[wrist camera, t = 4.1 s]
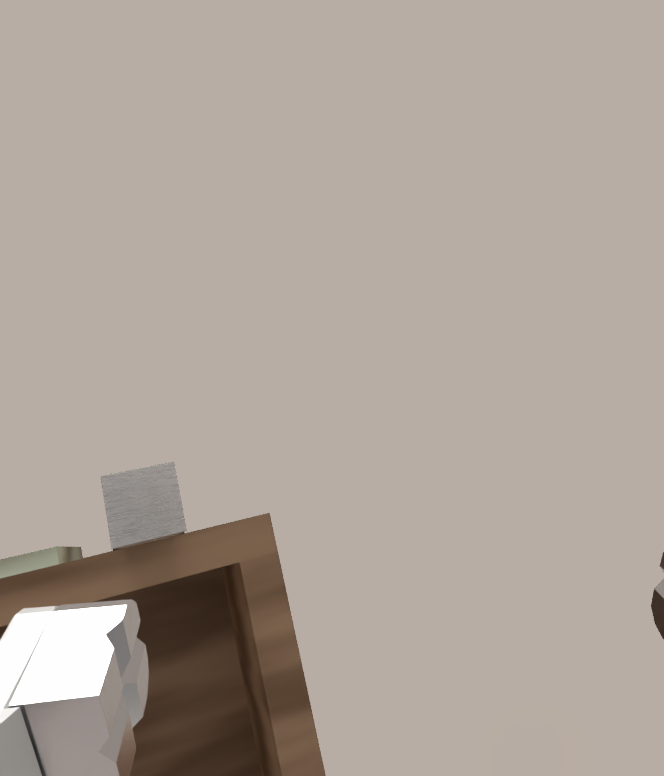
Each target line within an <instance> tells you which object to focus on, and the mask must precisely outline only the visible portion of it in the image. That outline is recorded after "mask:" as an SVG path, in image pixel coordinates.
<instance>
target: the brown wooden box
mask: <svg viewBox="0 0 664 776" xmlns="http://www.w3.org/2000/svg"><path fill="white" fill-rule="evenodd" d="M129 599H132V600H133V601H135V602H136V603H137V607H138V611H139V616H140V620H141V621H140V625H139V629H138V633H137V638H138V639H139V640H140V641H142V642H143V643H144V644H145V645H146V651H147V656H148V669H149V678H148V692H147V700H146V705H145V710H144V715H143V717H142V718H141V719H140V720H139V721H138V723H137V724H136V725H135V726H134V727H133V728H132V729H133V734H134V739H135V743H136V752H135V756H134V761H133V765H132V770H131V774H130V776H325V771H324V766H323V762H322V757H321V752H320V748H319V743H318V738H317V733H316V729H315V724H314V719H313V715H312V710H311V705H310V701H309V696H308V691H307V687H306V682H305V677H304V672H303V668H302V663H301V658H300V654H299V649H298V644H297V640H296V635H295V630H294V626H293V621H292V616H291V612H290V607H289V602H288V597H287V593H286V588H285V583H284V579H283V574H282V569H281V565H280V560H279V555H278V551H277V546H276V541H275V536H274V532H273V527H272V523H271V518H270V514H269V513H267V514H263V515H259V516H255V517H251V518H247V519H243V520H239V521H235V522H230V523H226V524H222V525H218V526H214V527H210V528H206V529H202V530H198V531H193V532H190V533H185V534H181V535H177V536H173V537H169V538H165V539H161V540H157V541H152V542H148V543H144V544H140V545H136V546H132V547H128V548H124V549H120V550H115V551H111V552H107V553H103V554H99V555H95V556H91V557H87V558H83V557H82V550H81V547H53V548H49V549H45V550H40V551H36V552H31V553H27V554H23V555H18V556H14V557H10V558H6V559H1V560H0V639H1V638H2V636H3V634H4V632H5V630H6V629H7V627H8V625H9V623H10V622H11V620H12V618H13V617H14V615H15V614H17V613H18V612H19V611H21V610H22V609H23V608H36V607H49V606H60V605H65V604H78V603H91V602H104V601H117V600H129Z"/></svg>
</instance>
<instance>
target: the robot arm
mask: <svg viewBox="0 0 664 776" xmlns="http://www.w3.org/2000/svg"><path fill="white" fill-rule="evenodd" d="M660 567H661V568H662V570H663V572H664V552H663V556H662V560H661V563H660ZM651 607H652V612H653V616H654V621H655V624H656V626H657V628H658V630H659V632H660V634H661V636H662V638H663V639H664V579H663V580H662V581H661V582H660V583H659V584H658V585H657V586H656V587H655V589H654V593H653V598H652V604H651ZM140 621H141V620H140V616H139V611H138V607H137V603H136V602H135V601H133V600H132V599H129V600H117V601H104V602H91V603H78V604H65V605H60V606H49V607H36V608H23V609H22V610H21V611H19V612H18V613H17V614H15V615H14V617H13V618H12V620H11V622H10V623H9V625H8V627H7V629H6V630H5V632H4V634H3V636H2V638H1V639H0V776H130V774H131V770H132V765H133V761H134V756H135V752H136V743H135V739H134V734H133V729H132V728H133V727H134V726H135V725H136V724H137V723H138V721H139V720H140V719H141V718H142V717H143V715H144V710H145V705H146V700H147V692H148V678H149V669H148V656H147V651H146V645H145V644H144V643H143V642H142V641H140V640H139V639H138V638H137V633H138V629H139V625H140Z"/></svg>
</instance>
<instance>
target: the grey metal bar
mask: <svg viewBox="0 0 664 776" xmlns="http://www.w3.org/2000/svg"><path fill="white" fill-rule="evenodd" d="M101 483H102V489H103V495H104V502H105V509H106V515H107V521H108V528H109V534H110V541H111V547H112V549H113V551H115V550H120V549H124V548H128V547H132V546H136V545H140V544H144V543H148V542H152V541H157V540H161V539H165V538H169V537H173V536H177V535H181V534H184V532H185V531H186V524H185V519H184V513H183V508H182V503H181V497H180V491H179V486H178V480H177V475H176V470H175V464H174V462H171V463H166V464H161V465H155V466H151V467H145V468H140V469H135V470H130V471H125V472H120V473H115V474H110V475H105V476H101Z"/></svg>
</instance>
